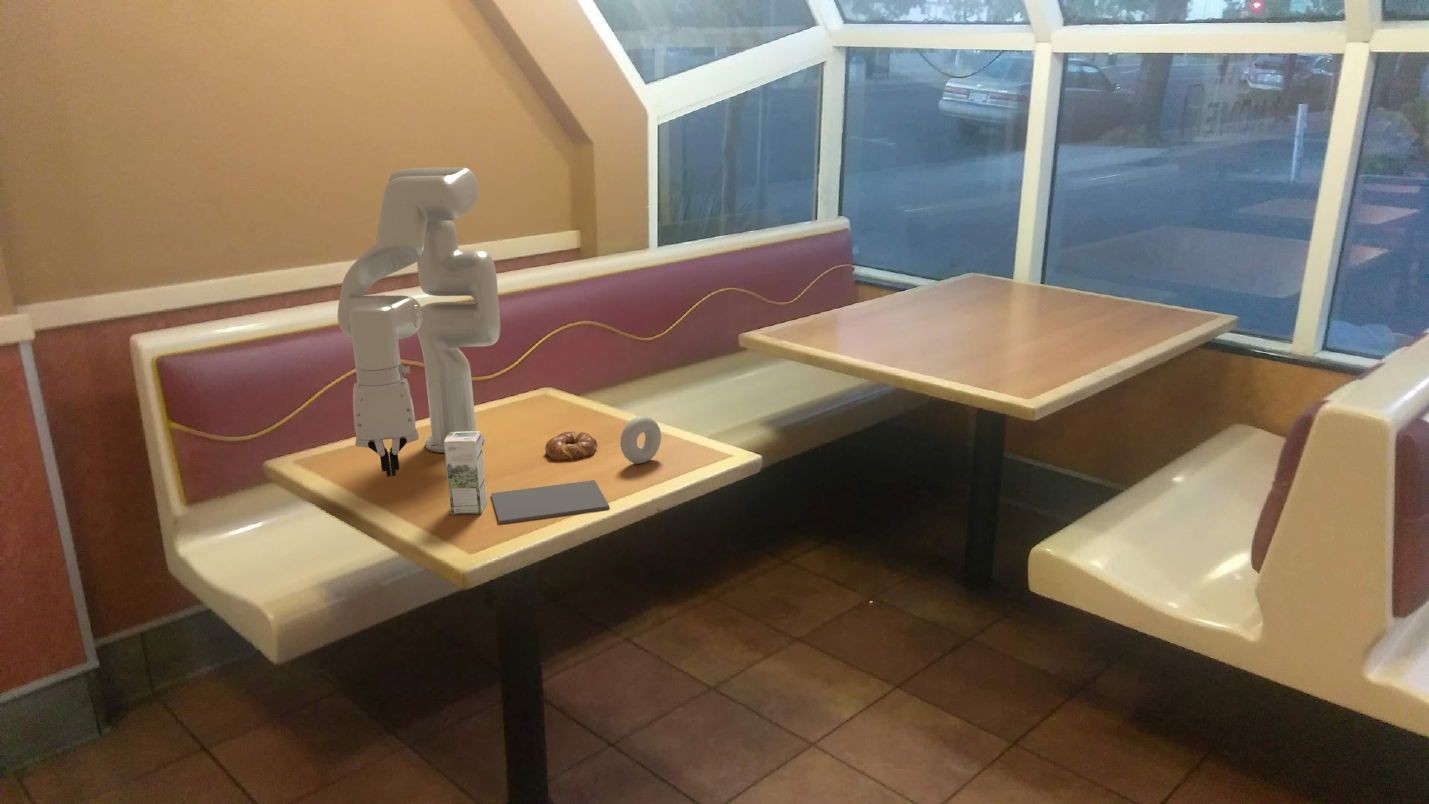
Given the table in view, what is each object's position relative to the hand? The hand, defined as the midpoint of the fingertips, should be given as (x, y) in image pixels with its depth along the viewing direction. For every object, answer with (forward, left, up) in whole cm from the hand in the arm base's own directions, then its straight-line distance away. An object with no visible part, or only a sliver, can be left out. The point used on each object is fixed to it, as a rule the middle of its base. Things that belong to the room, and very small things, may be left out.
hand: (391, 474), depth 181 cm
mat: (+2, +27, -9) cm, 29 cm away
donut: (-13, +49, -9) cm, 51 cm away
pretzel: (-25, +36, -9) cm, 45 cm away
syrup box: (0, +13, -9) cm, 16 cm away
